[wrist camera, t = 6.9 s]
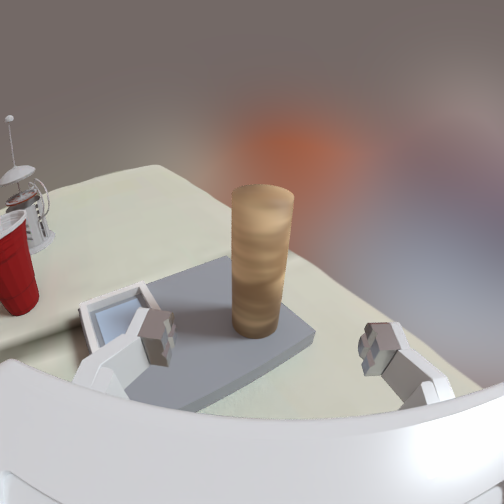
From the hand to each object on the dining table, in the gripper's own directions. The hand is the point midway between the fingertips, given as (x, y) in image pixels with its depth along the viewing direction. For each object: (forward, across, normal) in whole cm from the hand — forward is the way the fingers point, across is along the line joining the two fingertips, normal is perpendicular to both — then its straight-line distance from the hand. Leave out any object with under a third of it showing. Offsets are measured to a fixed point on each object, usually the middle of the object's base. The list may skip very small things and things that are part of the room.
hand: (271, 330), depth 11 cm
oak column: (+12, 0, -12) cm, 16 cm away
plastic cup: (+11, -32, -14) cm, 37 cm away
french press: (+26, -42, -14) cm, 52 cm away
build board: (+10, -7, -14) cm, 19 cm away
